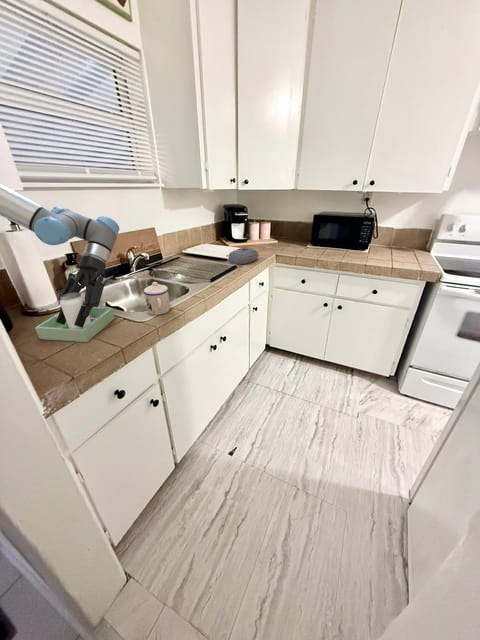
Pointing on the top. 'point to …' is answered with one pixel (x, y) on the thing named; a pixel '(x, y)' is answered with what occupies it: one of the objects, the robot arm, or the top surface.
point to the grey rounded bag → (243, 256)
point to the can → (73, 309)
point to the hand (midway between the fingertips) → (69, 324)
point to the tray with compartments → (62, 332)
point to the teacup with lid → (157, 299)
